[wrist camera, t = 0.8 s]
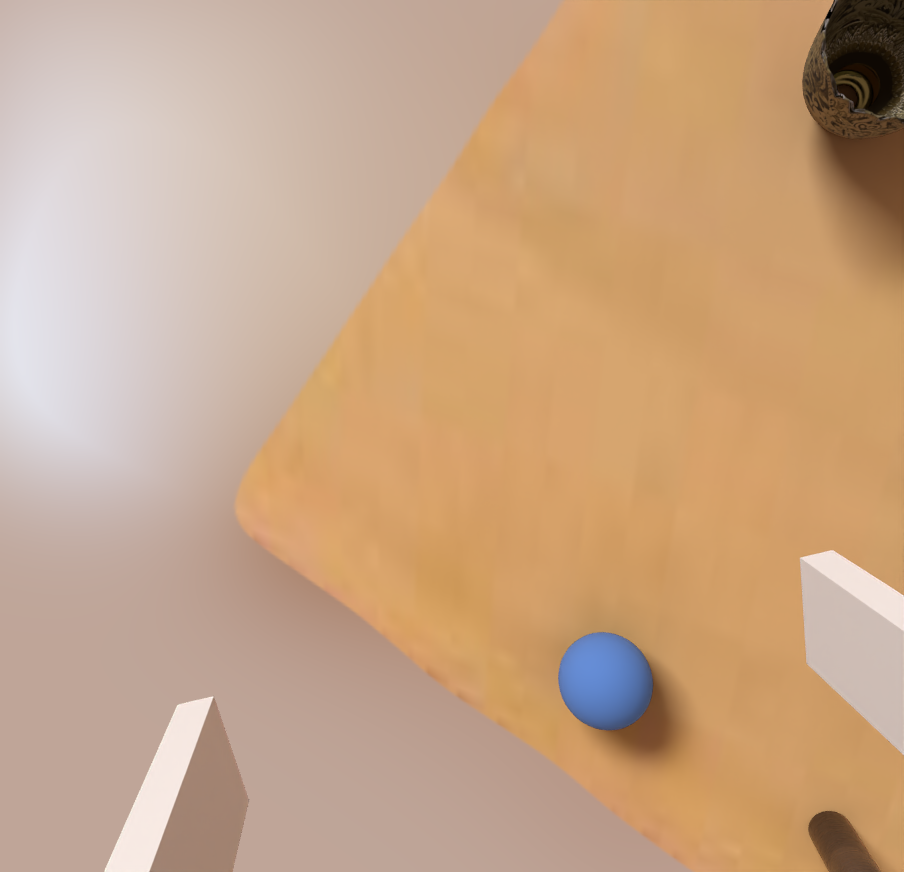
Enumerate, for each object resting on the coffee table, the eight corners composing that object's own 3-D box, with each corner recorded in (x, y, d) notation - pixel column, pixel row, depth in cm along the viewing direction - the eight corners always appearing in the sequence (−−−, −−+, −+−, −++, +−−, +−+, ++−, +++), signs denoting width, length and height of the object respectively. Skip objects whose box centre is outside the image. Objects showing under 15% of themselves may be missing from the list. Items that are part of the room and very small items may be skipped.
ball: (657, 633, 43) (671, 671, 38) (633, 713, 44) (643, 762, 38) (570, 608, 44) (572, 642, 38) (548, 687, 44) (547, 731, 39)
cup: (880, 185, 39) (962, 138, 31) (751, 147, 39) (799, 92, 32) (935, 51, 38) (1035, -33, 30) (802, 15, 38) (864, -76, 31)
